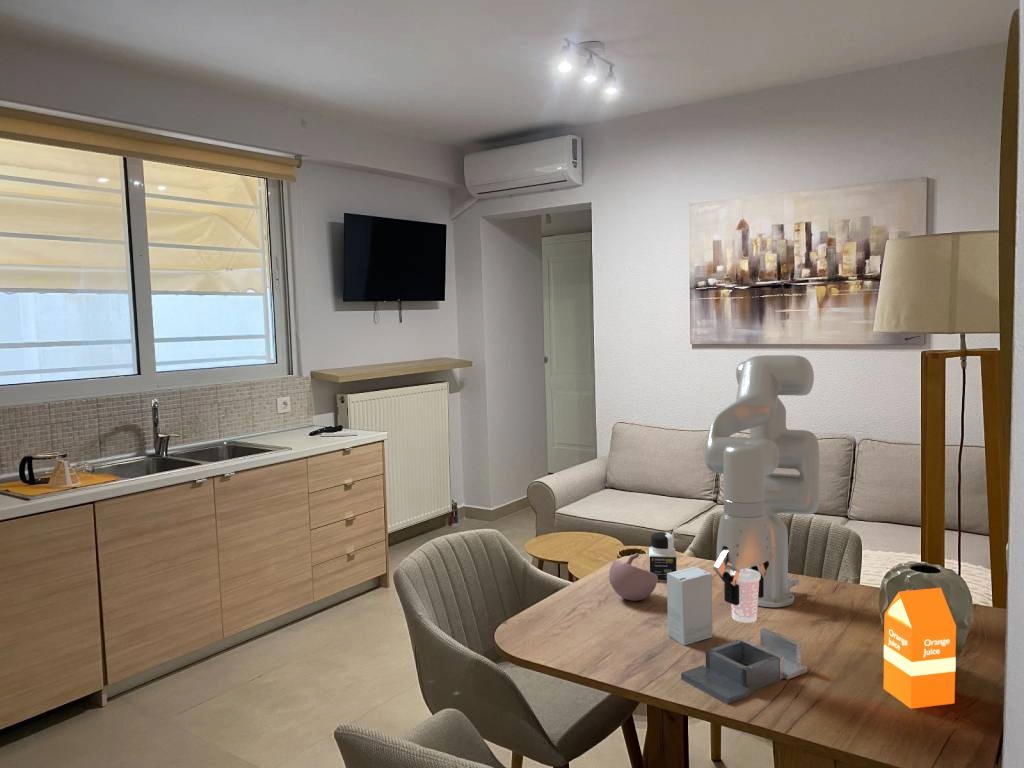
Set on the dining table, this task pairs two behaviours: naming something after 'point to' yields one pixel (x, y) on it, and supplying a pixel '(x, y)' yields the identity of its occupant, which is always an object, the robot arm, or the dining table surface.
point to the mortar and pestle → (631, 580)
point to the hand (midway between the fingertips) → (744, 598)
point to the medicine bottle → (662, 555)
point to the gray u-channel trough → (775, 653)
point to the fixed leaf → (731, 673)
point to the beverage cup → (747, 596)
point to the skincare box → (689, 605)
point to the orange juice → (920, 649)
